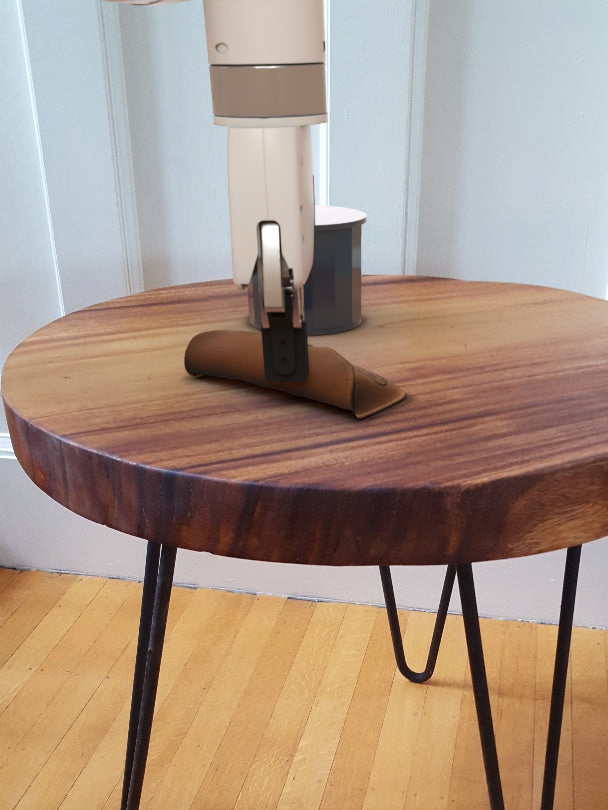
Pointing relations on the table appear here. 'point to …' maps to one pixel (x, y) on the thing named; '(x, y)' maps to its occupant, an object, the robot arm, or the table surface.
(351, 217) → the pot lid
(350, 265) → the pot
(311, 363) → the sunglasses case
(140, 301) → the table surface
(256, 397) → the table surface
